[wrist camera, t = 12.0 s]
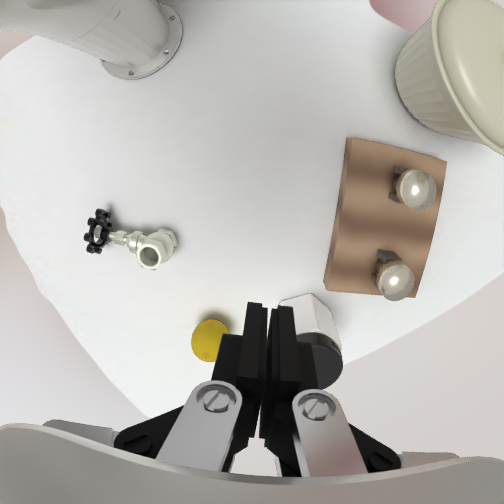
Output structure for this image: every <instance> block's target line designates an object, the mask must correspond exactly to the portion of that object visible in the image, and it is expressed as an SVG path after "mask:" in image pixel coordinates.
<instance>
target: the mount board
mask: <svg viewBox="0 0 504 504" xmlns="http://www.w3.org/2000/svg"><path fill="white" fill-rule="evenodd" d="M446 165H447V161H444V160H441V159H437V158H434V157H431V156H427V155H424V154H420V153H416V152H413V151H409V150H405V149H401V148H397V147H393V146H389V145H385V144H381V143H376V142H372V141H367V140H362V139H358V138H346V147H345V155H344V163H343V170H342V177H341V184H340V191H339V198H338V204H337V210H336V216H335V222H334V228H333V234H332V239H331V245H330V250H329V255H328V260H327V265H326V270H325V275H324V280H323V282H324V284H325V287H326V290H327V291H337V292H348V293H359V294H371V295H383V294H382V292H381V291H380V289H379V288H378V286H377V283H376V278H377V274H378V271H377V270H376V267H375V265H376V262H377V261H378V260H379V259H381V261H382V262H383V263H385V264H386V263H388V262H390V261H401V262H402V263H404V264H405V265H406V266H407V267H408V268H409V269H410V270H411V271H412V273H413V275H414V279H415V280H414V286H413V289H412V290H411V292H410V293H409V294H408V295H407V296H406V297H411V298H415V297H416V294H417V291H418V287H419V284H420V281H421V278H422V275H423V271H424V268H425V264H426V261H427V257H428V254H429V250H430V246H431V242H432V238H433V234H434V230H435V225H436V221H437V216H438V212H439V207H440V202H441V196H442V191H443V185H444V179H445V172H446ZM410 169H414V170H419V171H424V172H426V173H428V174H429V175H430V176H431V177H432V178H433V179H434V181H435V184H436V190H437V192H436V198H435V200H434V202H433V204H432V205H431V206H430V207H429V208H428V209H426V210H424V211H416V210H413V209H411V208H409V207H407V206H405V205H404V204H402V203H401V202H400V200H399V198H398V196H397V193H396V190H394V188H393V186H392V181H393V179H394V178H395V177H396V176H400V175H401V174H402V173H403V172H405V171H407V170H410Z"/></svg>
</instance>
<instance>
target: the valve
mask: <svg viewBox="0 0 504 504" xmlns="http://www.w3.org/2000/svg"><path fill="white" fill-rule="evenodd" d="M95 215H96V218H91V217H90V218H89V219H88V225H89V226H90V230H89V232H88V233H85V235H84V240H85V241H87V242H89V245H88V246H87V249H86V250H87V252H89V253H92V254H93V253H98V254H100V253H101V252H102V249H101V248H103V247H104V246H105V245H106V244H107V243H108V242H110V241H111V240H112V239H113V240H114V242H115V244H119V245H122V246H123V245H125V244H127V247H129V250H130V252H132V253H136V256H137V259H138V262H139V264H140V265H141V267H144V268H146V269H150V270H155V269H156V268H157V267H158V266H159V265H160V264H162V263H164V262H166V261H167V260H169V259H170V257H171V256H172V253H173V249H174V248H175V247H176V246H177V244H178V242H177V239H176V237H175V234H174V231H171V230H167V229H163V228H160V229H159V230H158V231H157V232H154V233H151V234H150V235H148V236H145V235H144V233H143V232H139V231H135V232H134V233H133V234H130V235H129V236H128V234H127V232H124V231H120V230H119V231H117V232H116V233H115V232H114V230H113V228H112V224H111V223H108V222H107V220H106V219H107V217H108V218H110V216H111V213H110V212H107V211H104V210H102V209H97V210H96V212H95ZM97 225H99V226H97ZM96 226H97V227H96ZM95 228H96V229H95ZM94 235H95V237H96V238H99V240H98V241H97V242H95V241H94Z"/></svg>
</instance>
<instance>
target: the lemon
mask: <svg viewBox="0 0 504 504" xmlns="http://www.w3.org/2000/svg"><path fill="white" fill-rule="evenodd" d="M223 333H225V334H229V331H228V329H227V327H226V326H225V325H224V324H223V323H222V322H220V321H218V320H214V319H209V320H205V321H203V322H201V323H200V324H199V325H198V326H197V327H196V328H195V330H194V332H193V334H192V340H191V345H192V350H193V352H194V354H195V355H196V356H197V357H198V358H199V359H201V360H203V361H206V362H214V361H216V358H217V354H218V350H219V346H220V342H221V338H222V334H223Z"/></svg>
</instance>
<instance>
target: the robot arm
mask: <svg viewBox="0 0 504 504" xmlns="http://www.w3.org/2000/svg"><path fill="white" fill-rule="evenodd" d="M156 1H157V0H0V31H17V32H25V33H30V34H34V35H38V36H41V37H45V38H48V39H51V40H54V41H56V42H59V43H62V44H65V45H67V46H70V47H73V48H75V49H78V50H81V51H83V52H86V53H88V54H91V55H93V56H96V57H98V58H100V60H101V63H102V65H103V67H104V69H105V70H106V71H107V72H108V73H109V74H111V75H113V76H115V77H118V78H120V79H126V80H133V79H139V78H143V77H146V76H148V75H151V74H153V73H154V72H156V71H158V70H159V69H160V68H162V67H163V66H164V65H165V64H166V63H167V62H168V61H169V60H170V59H171V58H172V57H173V55H174V54H175V52H176V51H177V49H178V46H179V44H180V41H181V38H182V24H181V20H180V18H179V16H178V15H177V14H176V12H175V11H174V10H173V9H172V8H171V7H169V6H167V5H165V4H162V3H157V2H156ZM168 52H169V54H168V55H167V53H168ZM133 73H134V75H133ZM267 313H268V308H264V307H262V303H253V302H248V304H247V311H246V318H245V324H244V331H243V336H241V335H233V334H225V333H223V334H222V338H221V342H220V346H219V350H218V354H217V358H216V362H215V366H214V370H213V374H212V379H211V381H207V382H203V383H201V384H199V385H198V386H196V387H195V388H194V390H193V391H192V392H191V394H190V396H189V398H188V400H187V402H186V404H185V405H183V406H181V407H179V408H176V409H174V410H172V411H169V412H167V413H165V414H162V415H160V416H157V417H155V418H152V419H150V420H147V421H144V422H142V423H139V424H137V425H134V426H131V427H128V428H126V429H125V430H123V431H121V432H116V431H113V429H112V428H106V427H99V426H92V425H86V424H80V423H74V422H68V421H63V420H50V421H47V422H46V423H44V424H43V425H42V426H41V425H34V424H25V423H13V424H6V425H3V426H1V427H0V504H504V461H503V460H500V459H497V458H492V457H480V456H478V457H462V458H460V457H459V456H457V455H456V454H454V453H424V452H422V453H421V452H402V453H401V454H396V453H395V452H394V451H393V450H392V449H390V448H388V447H387V446H385V445H383V444H382V443H380V442H378V441H377V440H375V439H373V438H371V437H370V436H368V435H367V434H365V433H364V432H362V431H361V430H359V429H357V428H356V427H354V426H353V425H351V424H349V423H348V422H347V419H346V417H345V414H344V412H343V410H342V407H341V405H340V403H339V401H338V400H337V399H336V398H335V397H334V396H333V395H332V394H330V393H328V392H326V391H322V390H319V387H318V381H317V375H316V369H315V363H314V357H313V351H312V345H311V343H310V342H303V341H297V338H296V329H295V320H294V312H293V307H291V306H281V305H278V307H277V309H273V308H272V311H271V318H270V324H269V330H268V337H267ZM260 405H261V409H260ZM259 410H260V428H259V438H262V439H265V444H264V447H267V449H269V450H270V451H271V452H272V453H273V454H275V455H276V456H275V464H276V469H277V474H278V477H271V476H254V475H243V474H234V473H230V471H231V468H232V465H233V462H234V459H235V454H236V453H238V452H239V451H241V450H243V449H244V448H246V447H247V446H248V440H249V437H251V438H254V435H255V431H256V426H257V421H258V415H259Z"/></svg>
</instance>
